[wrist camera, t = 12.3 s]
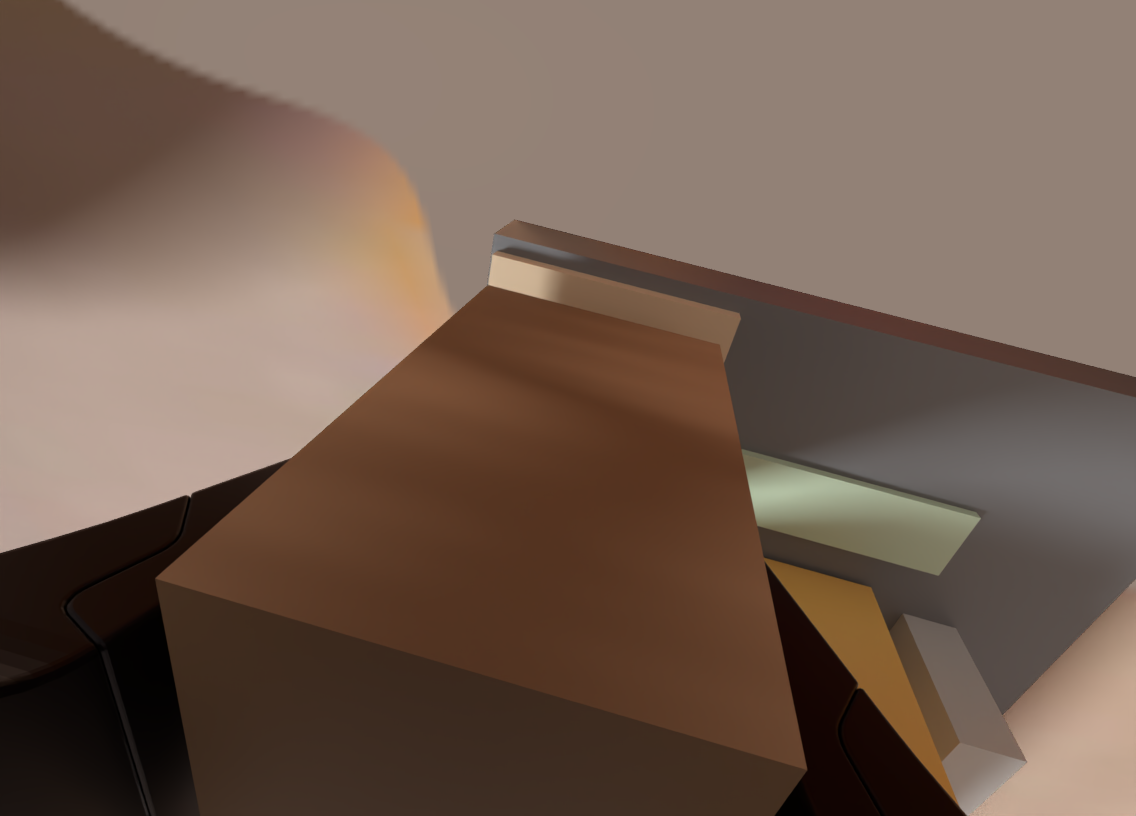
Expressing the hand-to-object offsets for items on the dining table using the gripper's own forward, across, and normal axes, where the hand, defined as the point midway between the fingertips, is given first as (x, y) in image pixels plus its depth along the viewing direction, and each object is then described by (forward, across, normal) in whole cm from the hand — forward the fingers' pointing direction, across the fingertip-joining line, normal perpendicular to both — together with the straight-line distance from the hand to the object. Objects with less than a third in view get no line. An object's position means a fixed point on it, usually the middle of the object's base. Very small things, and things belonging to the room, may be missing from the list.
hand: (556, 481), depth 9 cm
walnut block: (+2, 0, 0) cm, 2 cm away
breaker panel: (+5, -5, +7) cm, 10 cm away
